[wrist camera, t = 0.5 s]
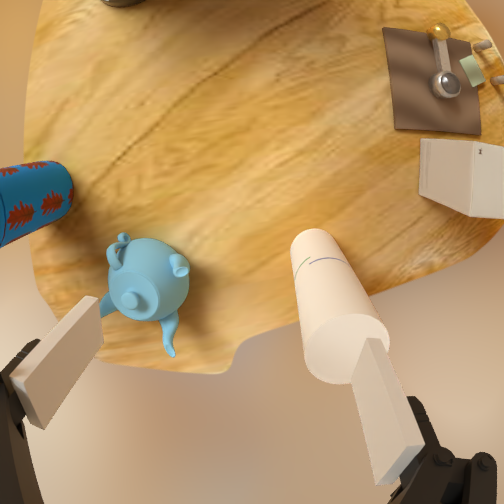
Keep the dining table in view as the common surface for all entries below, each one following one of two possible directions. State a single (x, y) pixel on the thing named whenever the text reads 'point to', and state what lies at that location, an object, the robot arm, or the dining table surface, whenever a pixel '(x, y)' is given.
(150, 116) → the dining table surface
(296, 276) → the cylindrical container
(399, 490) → the robot arm
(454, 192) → the supplement box
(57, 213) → the thermos
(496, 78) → the dial board
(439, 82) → the crank handle
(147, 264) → the teapot
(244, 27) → the dining table surface
